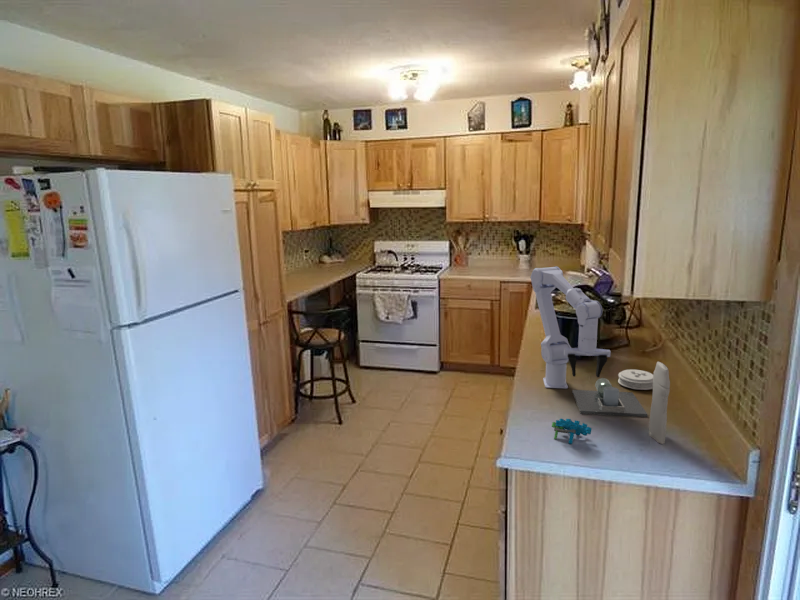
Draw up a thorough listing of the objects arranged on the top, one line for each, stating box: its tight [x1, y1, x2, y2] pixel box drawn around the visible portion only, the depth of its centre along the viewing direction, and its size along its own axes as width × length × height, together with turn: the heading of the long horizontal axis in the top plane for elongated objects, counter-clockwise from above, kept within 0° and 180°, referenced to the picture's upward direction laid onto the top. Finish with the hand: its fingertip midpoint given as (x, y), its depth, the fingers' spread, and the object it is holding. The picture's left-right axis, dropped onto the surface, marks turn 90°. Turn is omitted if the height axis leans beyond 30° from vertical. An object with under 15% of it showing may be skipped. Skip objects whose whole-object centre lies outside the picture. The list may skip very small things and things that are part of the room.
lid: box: [617, 369, 654, 391], centre depth 183 cm, size 13×13×5 cm
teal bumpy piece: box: [551, 418, 592, 445], centre depth 143 cm, size 11×6×10 cm
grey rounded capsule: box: [603, 386, 620, 406], centre depth 162 cm, size 4×4×6 cm
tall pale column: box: [648, 361, 671, 445], centre depth 142 cm, size 11×4×22 cm, turn 170°
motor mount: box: [572, 377, 648, 418], centre depth 167 cm, size 18×20×6 cm
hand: (585, 375), depth 169 cm, fingers open, 7 cm apart
